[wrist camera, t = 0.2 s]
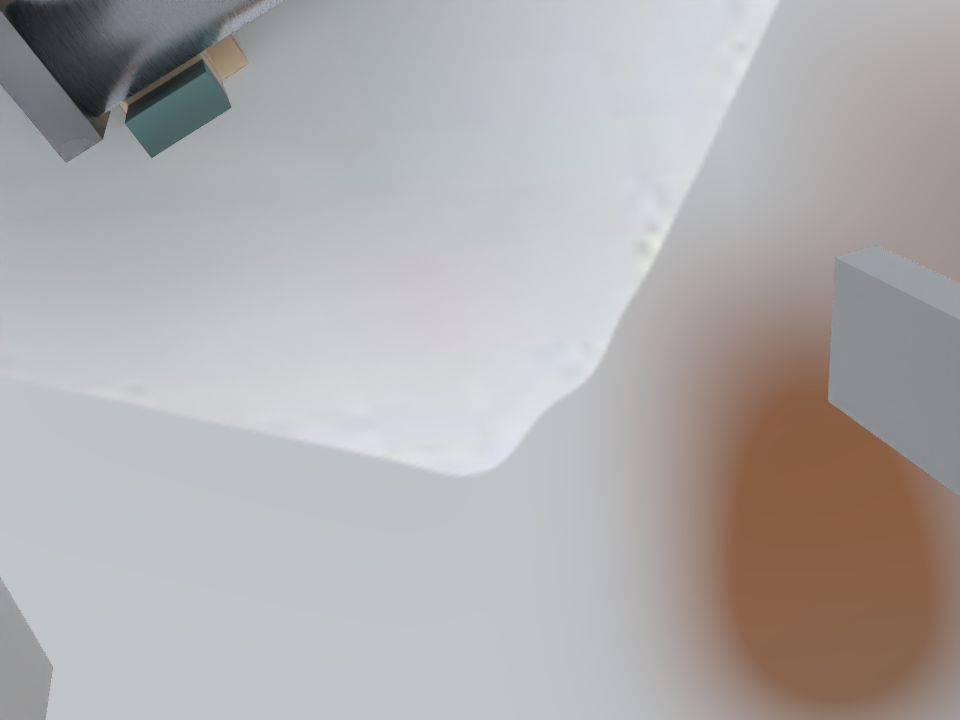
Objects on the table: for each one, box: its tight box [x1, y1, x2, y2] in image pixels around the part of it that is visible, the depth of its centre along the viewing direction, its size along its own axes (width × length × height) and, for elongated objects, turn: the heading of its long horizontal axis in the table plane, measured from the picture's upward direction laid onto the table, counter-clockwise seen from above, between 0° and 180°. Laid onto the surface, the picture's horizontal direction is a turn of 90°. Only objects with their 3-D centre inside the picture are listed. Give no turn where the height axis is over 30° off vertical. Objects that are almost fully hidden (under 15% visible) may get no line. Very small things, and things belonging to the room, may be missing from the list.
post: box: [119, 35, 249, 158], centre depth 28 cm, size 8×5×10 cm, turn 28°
